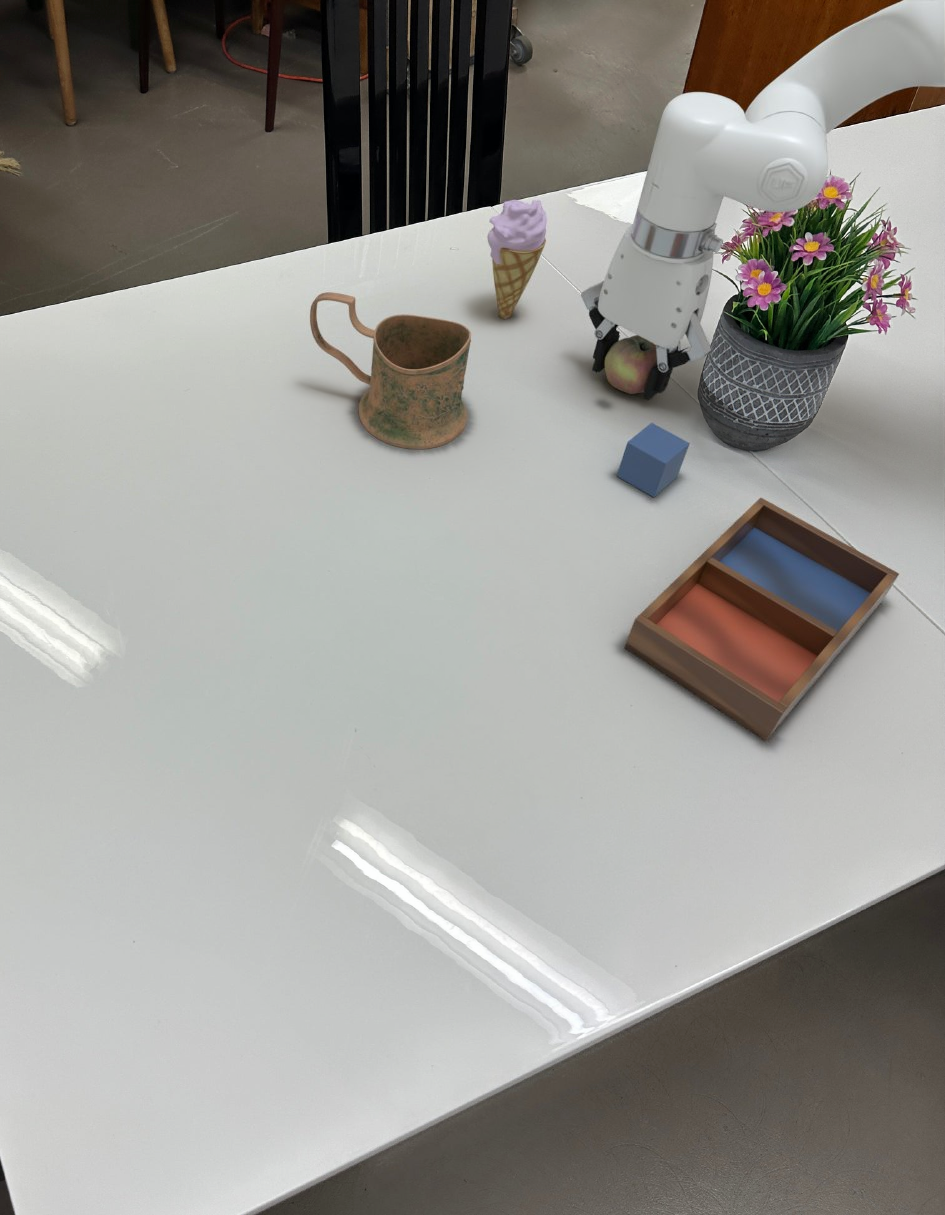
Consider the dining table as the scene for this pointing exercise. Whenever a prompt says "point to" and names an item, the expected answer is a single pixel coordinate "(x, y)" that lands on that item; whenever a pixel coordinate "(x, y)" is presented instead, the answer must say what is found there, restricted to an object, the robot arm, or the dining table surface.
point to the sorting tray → (760, 615)
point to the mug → (408, 376)
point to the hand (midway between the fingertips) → (627, 379)
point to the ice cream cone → (515, 250)
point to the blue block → (652, 459)
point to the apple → (630, 364)
